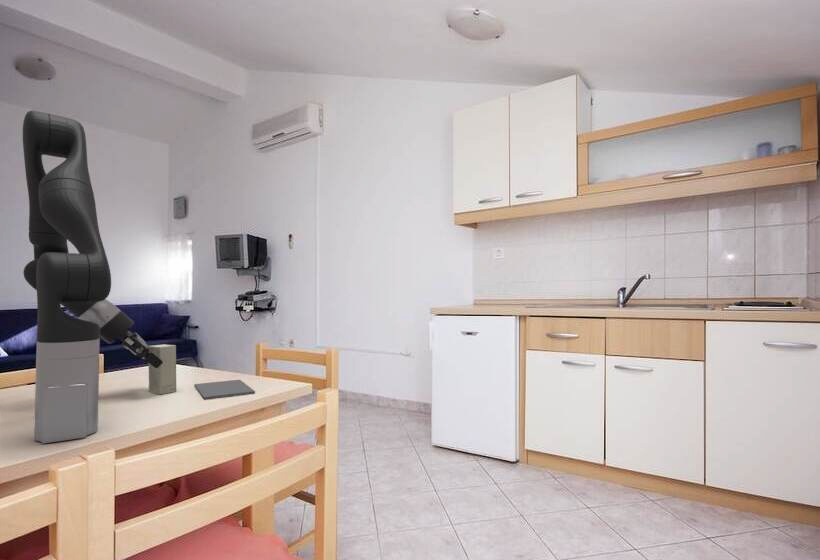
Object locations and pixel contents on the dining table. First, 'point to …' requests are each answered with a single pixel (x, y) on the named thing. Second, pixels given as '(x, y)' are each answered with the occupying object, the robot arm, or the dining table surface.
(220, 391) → the mat
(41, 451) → the dining table surface
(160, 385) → the skincare box
